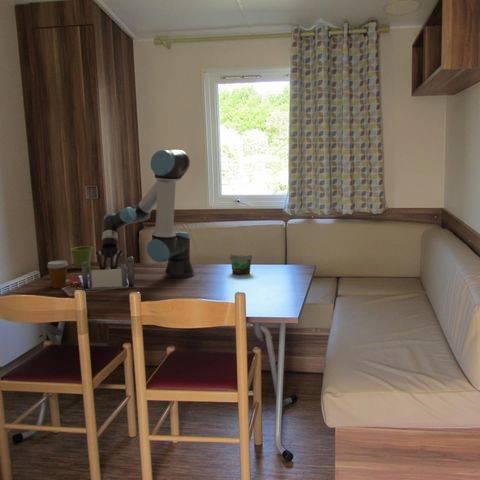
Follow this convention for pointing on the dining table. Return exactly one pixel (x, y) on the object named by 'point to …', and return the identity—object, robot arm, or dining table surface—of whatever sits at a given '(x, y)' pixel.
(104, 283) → the gate
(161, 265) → the dining table surface
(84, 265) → the hinge post
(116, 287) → the strip
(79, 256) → the plant pot
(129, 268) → the post
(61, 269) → the disposable coffee cup
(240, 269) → the food container
